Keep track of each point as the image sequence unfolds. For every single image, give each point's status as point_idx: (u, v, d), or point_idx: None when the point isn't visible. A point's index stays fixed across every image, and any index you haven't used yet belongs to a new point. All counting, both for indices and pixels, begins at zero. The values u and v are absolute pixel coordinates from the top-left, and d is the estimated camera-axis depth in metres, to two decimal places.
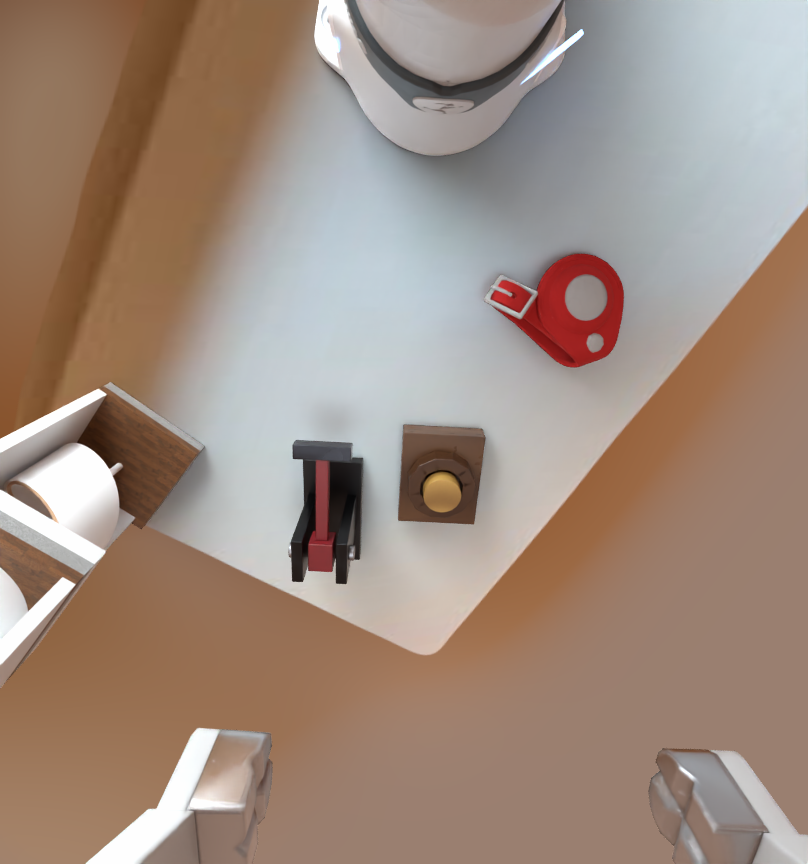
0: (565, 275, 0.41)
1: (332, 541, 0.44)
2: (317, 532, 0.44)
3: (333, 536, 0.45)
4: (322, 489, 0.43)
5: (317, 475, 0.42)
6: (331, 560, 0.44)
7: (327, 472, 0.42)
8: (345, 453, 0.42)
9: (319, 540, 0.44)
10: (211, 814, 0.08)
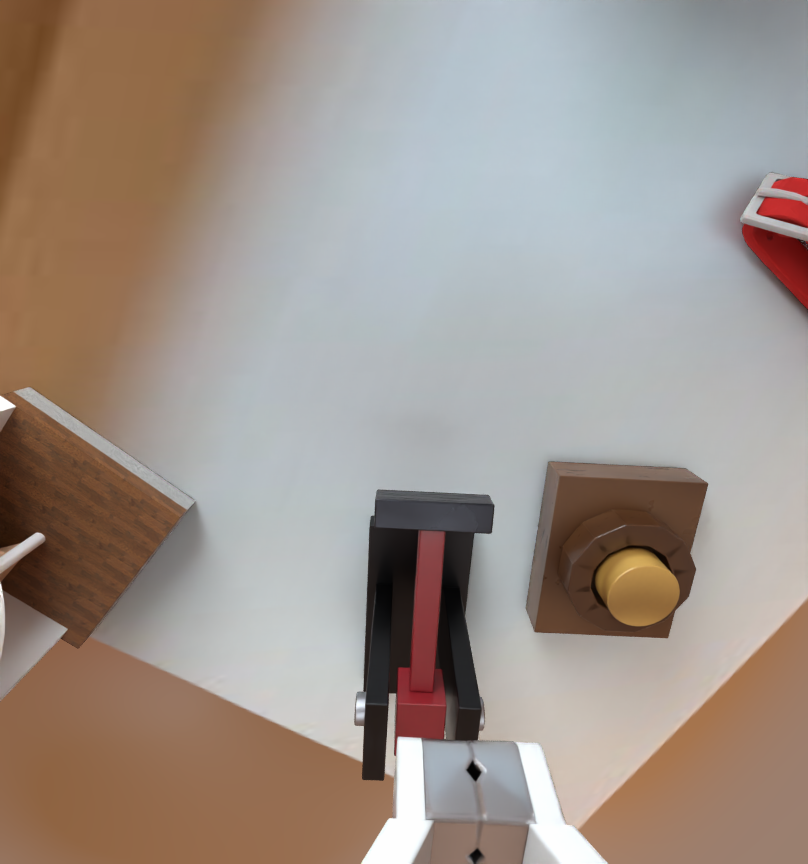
0: None
1: (443, 693, 0.22)
2: (414, 676, 0.22)
3: (440, 680, 0.23)
4: (429, 590, 0.21)
5: (421, 561, 0.21)
6: (442, 735, 0.22)
7: (442, 555, 0.21)
8: (482, 516, 0.20)
9: (417, 691, 0.22)
10: (448, 824, 0.08)
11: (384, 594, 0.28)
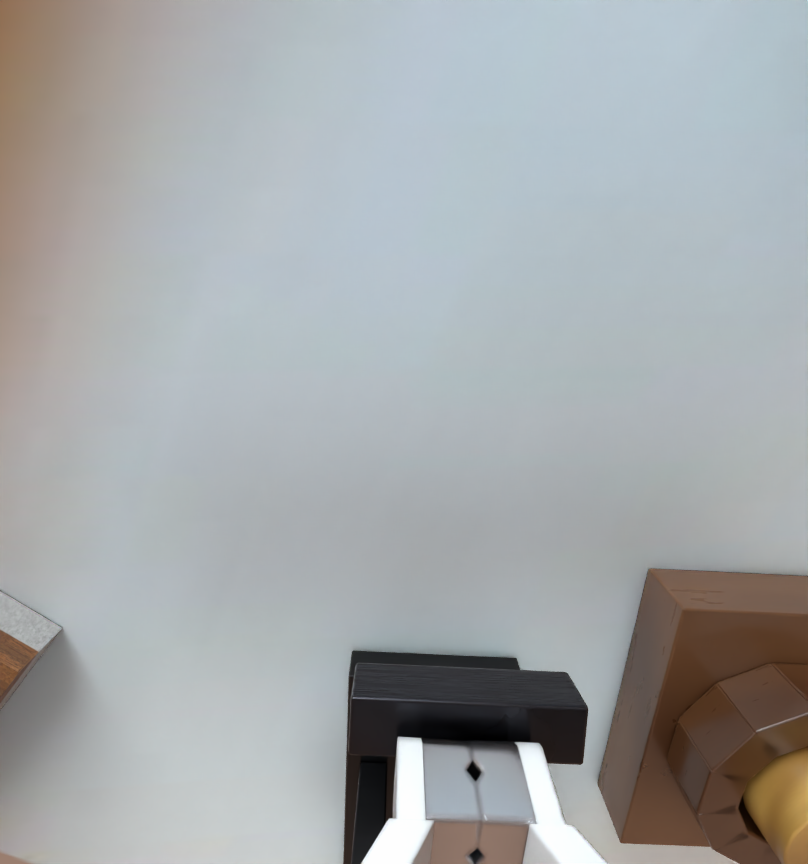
0: None
1: None
2: None
3: None
4: None
5: None
6: None
7: None
8: (565, 731, 0.10)
9: None
10: (448, 824, 0.08)
11: (373, 790, 0.17)
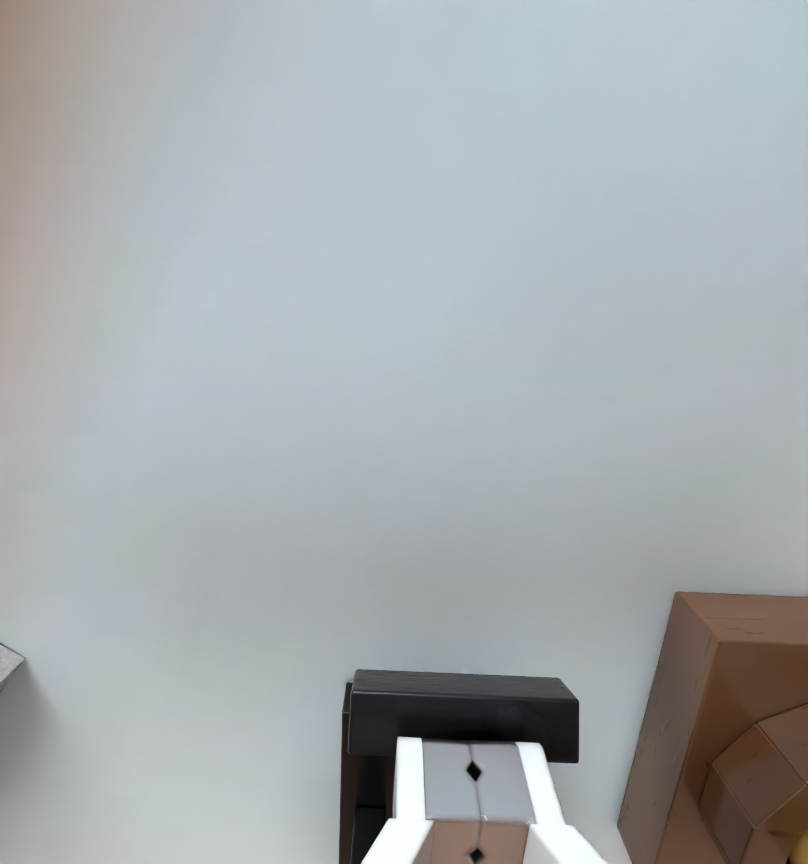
0: None
1: None
2: None
3: None
4: None
5: None
6: None
7: None
8: (558, 725, 0.10)
9: None
10: (448, 823, 0.08)
11: (370, 841, 0.15)
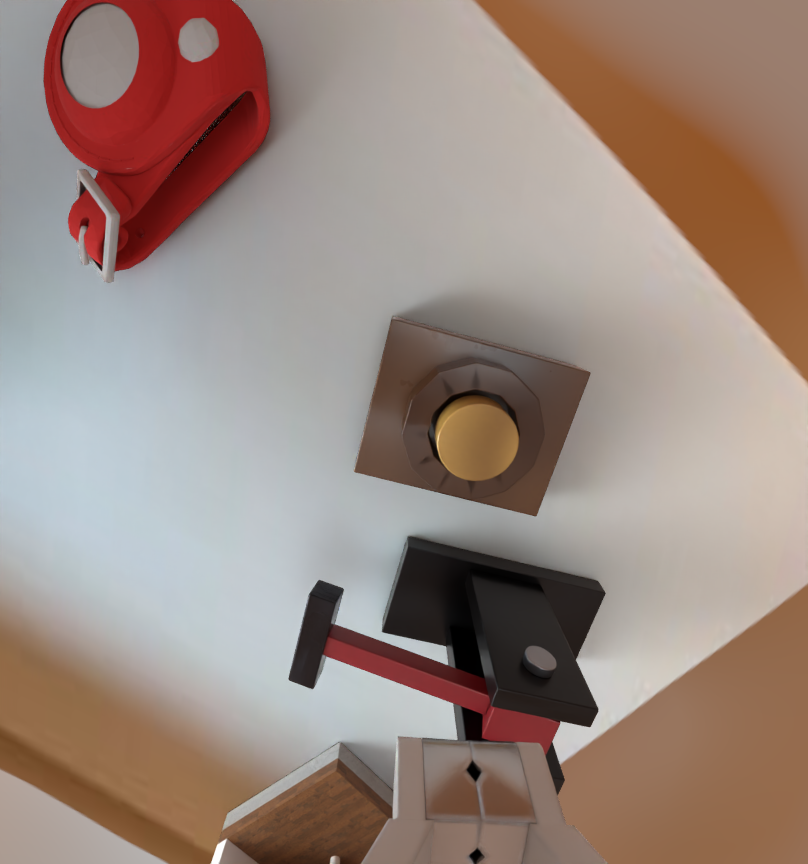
0: (64, 103, 0.20)
1: None
2: (469, 706, 0.22)
3: None
4: (382, 666, 0.22)
5: (352, 663, 0.23)
6: None
7: (350, 645, 0.22)
8: (317, 606, 0.22)
9: (488, 708, 0.22)
10: (448, 824, 0.08)
11: (449, 644, 0.28)
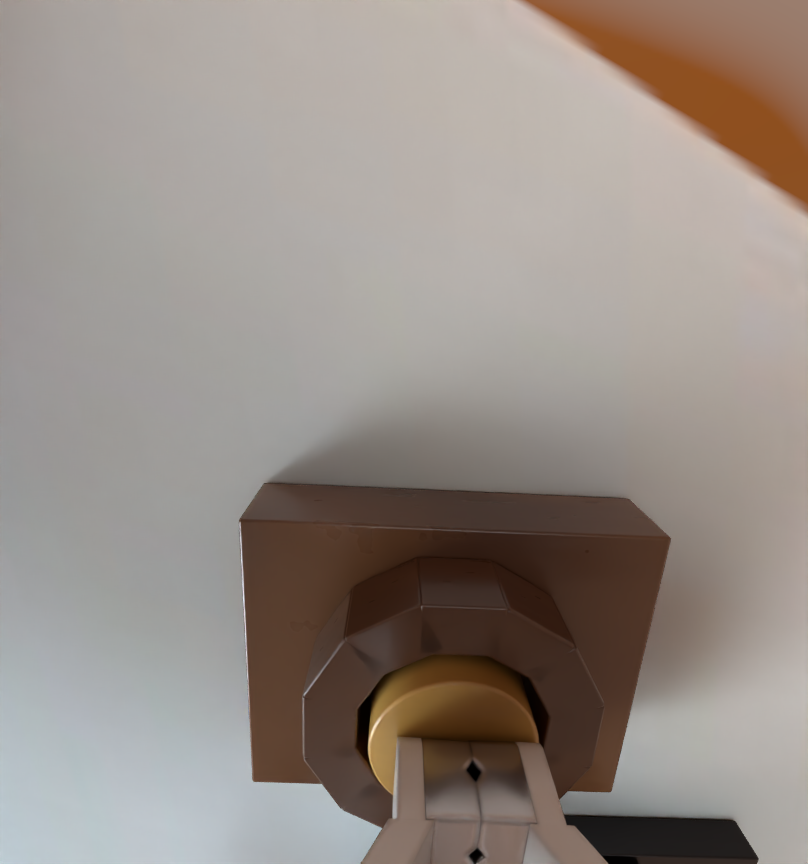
0: None
1: None
2: None
3: None
4: None
5: None
6: None
7: None
8: None
9: None
10: (448, 823, 0.08)
11: None
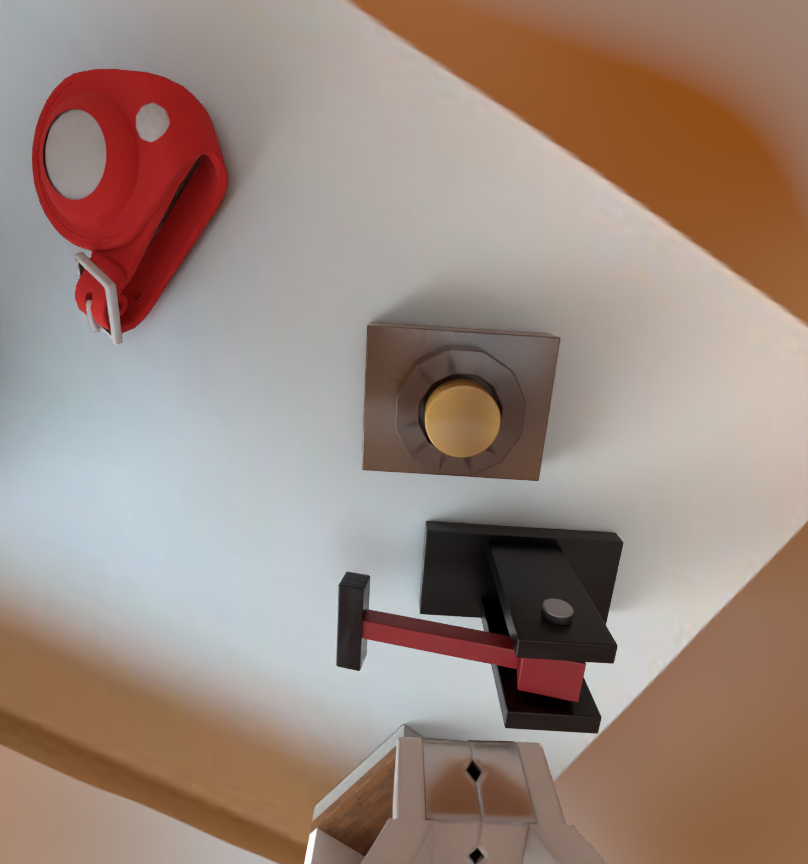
0: (54, 200, 0.23)
1: None
2: (501, 663, 0.24)
3: None
4: (416, 639, 0.24)
5: (389, 641, 0.25)
6: (558, 660, 0.22)
7: (384, 625, 0.25)
8: (348, 594, 0.24)
9: (519, 662, 0.24)
10: (448, 823, 0.08)
11: (482, 614, 0.30)
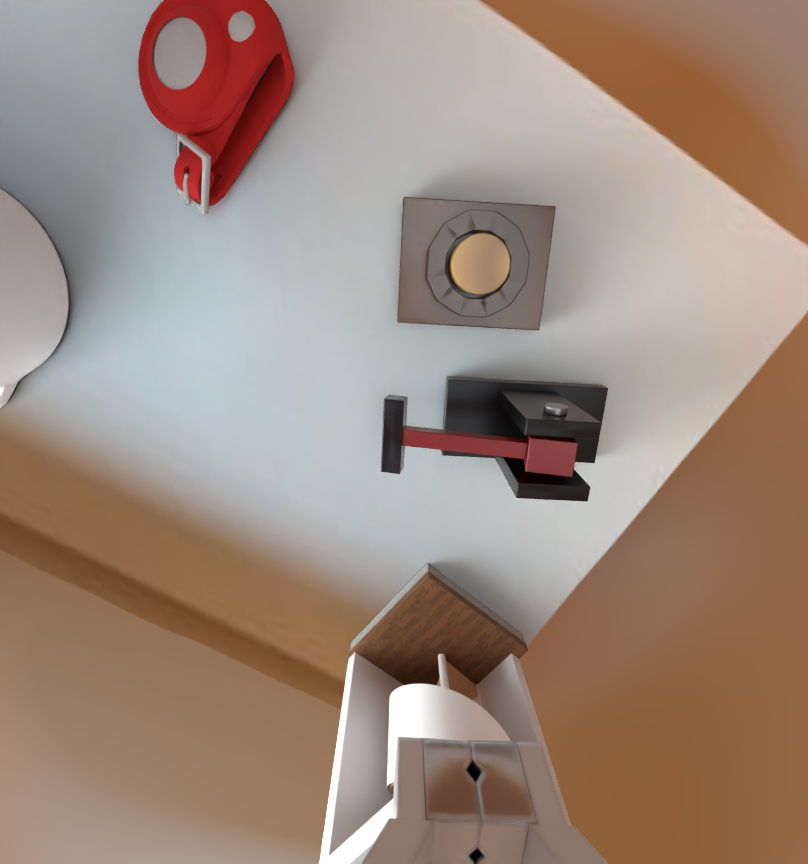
0: (159, 93, 0.30)
1: (529, 436, 0.30)
2: (512, 455, 0.31)
3: None
4: (445, 441, 0.31)
5: (424, 445, 0.31)
6: (556, 441, 0.29)
7: (420, 432, 0.31)
8: (391, 406, 0.31)
9: (526, 453, 0.30)
10: (448, 823, 0.08)
11: None
